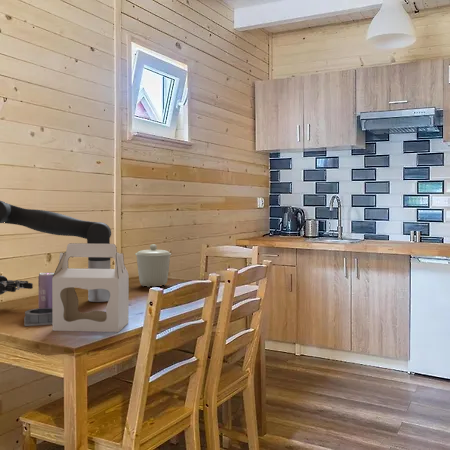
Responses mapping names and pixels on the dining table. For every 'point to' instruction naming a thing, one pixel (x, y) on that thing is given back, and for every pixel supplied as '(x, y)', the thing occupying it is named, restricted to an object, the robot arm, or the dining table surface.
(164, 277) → the canister
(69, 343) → the dining table surface
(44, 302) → the beverage can
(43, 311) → the ring collar
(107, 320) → the gable box
